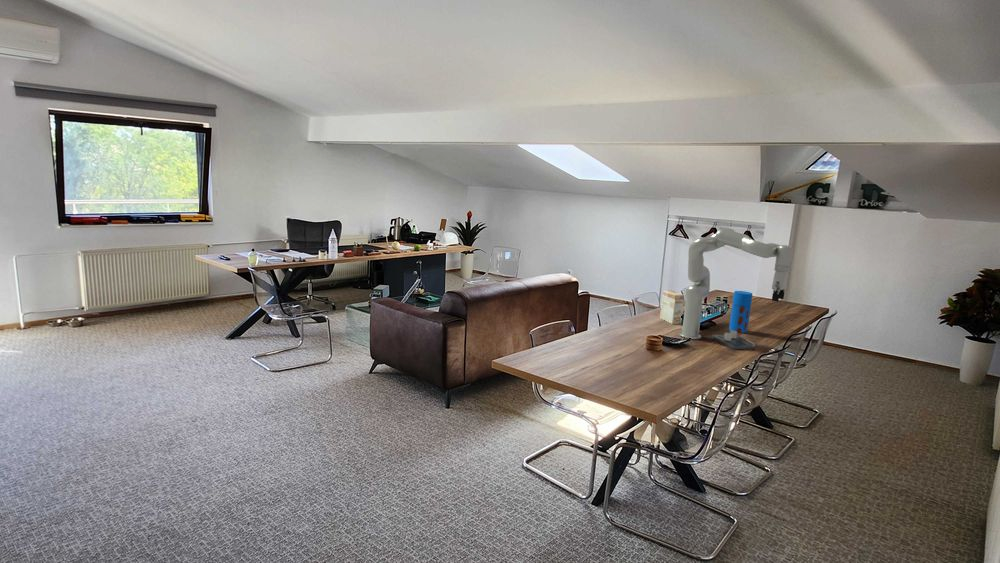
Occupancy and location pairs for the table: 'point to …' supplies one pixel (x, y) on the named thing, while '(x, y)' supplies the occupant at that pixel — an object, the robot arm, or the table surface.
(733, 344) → the console
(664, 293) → the coffeecake box
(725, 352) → the table surface
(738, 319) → the thermos
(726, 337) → the fader near
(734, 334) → the fader far
